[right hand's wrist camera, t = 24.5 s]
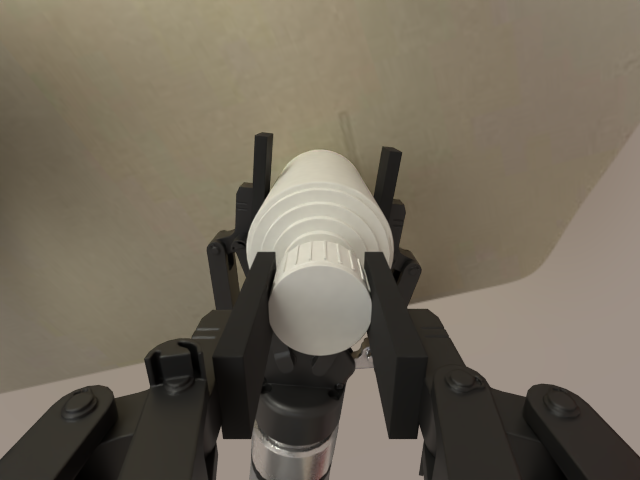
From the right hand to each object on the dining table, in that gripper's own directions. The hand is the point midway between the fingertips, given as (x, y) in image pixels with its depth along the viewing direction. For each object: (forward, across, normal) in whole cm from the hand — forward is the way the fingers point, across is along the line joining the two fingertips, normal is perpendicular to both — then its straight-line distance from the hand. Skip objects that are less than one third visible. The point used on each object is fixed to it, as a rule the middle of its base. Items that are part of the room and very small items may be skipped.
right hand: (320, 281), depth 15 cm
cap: (-2, 0, 0) cm, 2 cm away
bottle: (+16, 0, 0) cm, 16 cm away
